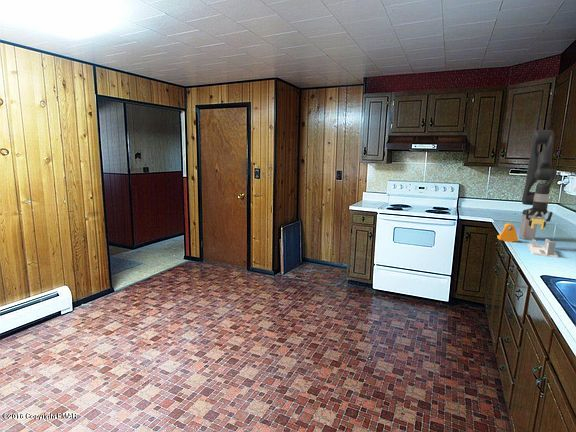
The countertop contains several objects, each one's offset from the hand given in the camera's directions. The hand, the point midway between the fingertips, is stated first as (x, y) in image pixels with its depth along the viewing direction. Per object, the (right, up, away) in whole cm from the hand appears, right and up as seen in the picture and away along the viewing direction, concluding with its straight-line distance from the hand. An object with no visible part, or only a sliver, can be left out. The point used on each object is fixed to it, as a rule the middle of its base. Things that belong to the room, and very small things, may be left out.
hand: (536, 226), depth 219 cm
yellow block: (0, -1, 0) cm, 1 cm away
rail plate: (0, -15, -5) cm, 16 cm away
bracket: (-6, -10, +20) cm, 23 cm away
